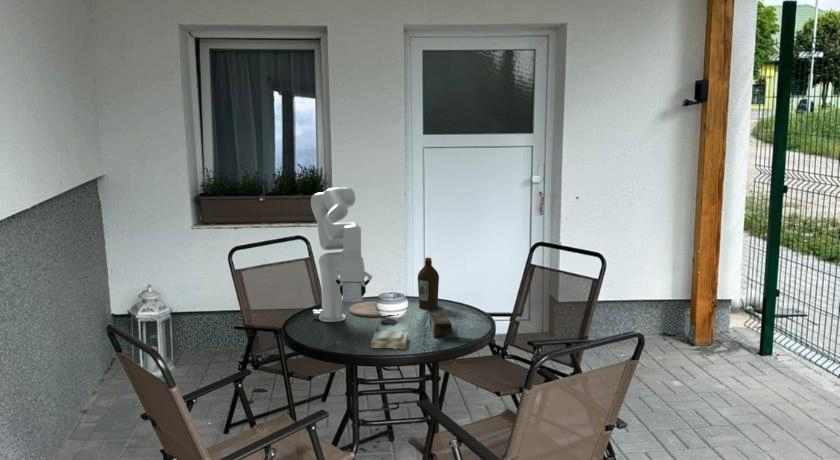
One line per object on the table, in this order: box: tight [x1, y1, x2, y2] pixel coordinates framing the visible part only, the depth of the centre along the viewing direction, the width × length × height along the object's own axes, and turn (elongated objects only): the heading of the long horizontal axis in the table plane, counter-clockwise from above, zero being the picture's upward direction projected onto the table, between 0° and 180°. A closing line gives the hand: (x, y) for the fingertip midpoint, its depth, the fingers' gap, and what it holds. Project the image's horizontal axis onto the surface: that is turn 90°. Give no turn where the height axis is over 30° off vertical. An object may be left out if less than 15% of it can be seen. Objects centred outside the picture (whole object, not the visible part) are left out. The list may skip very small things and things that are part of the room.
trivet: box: [348, 300, 382, 318], centre depth 360 cm, size 25×25×2 cm
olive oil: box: [417, 257, 440, 310], centre depth 365 cm, size 11×11×25 cm
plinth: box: [370, 330, 409, 350], centre depth 307 cm, size 14×14×4 cm
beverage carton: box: [429, 312, 453, 338], centre depth 324 cm, size 8×19×7 cm, turn 5°
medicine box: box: [342, 282, 364, 303], centre depth 310 cm, size 8×4×9 cm, turn 84°
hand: (352, 294), depth 311 cm, fingers closed on medicine box, 8 cm apart
